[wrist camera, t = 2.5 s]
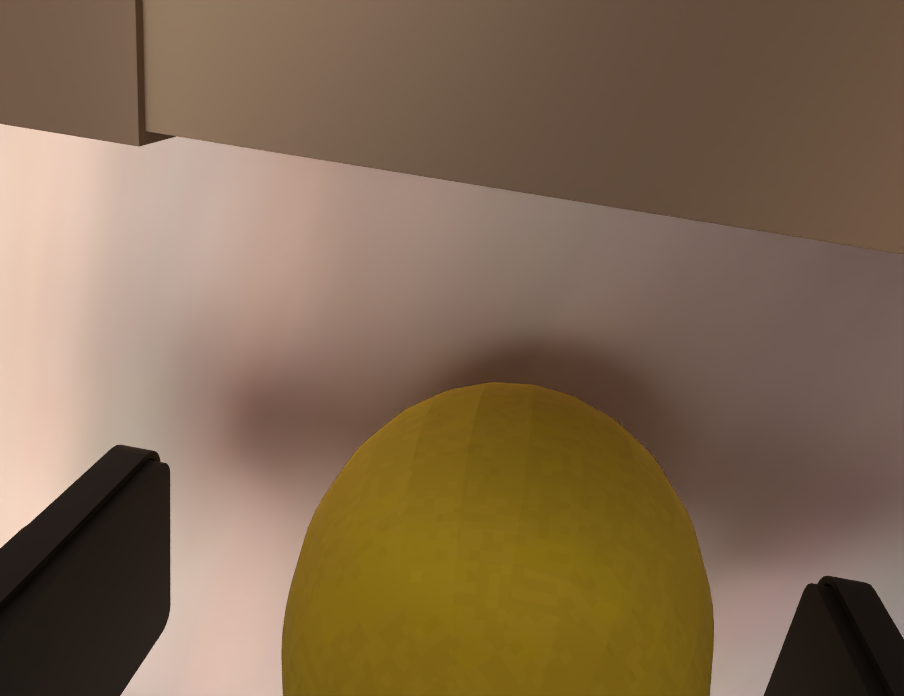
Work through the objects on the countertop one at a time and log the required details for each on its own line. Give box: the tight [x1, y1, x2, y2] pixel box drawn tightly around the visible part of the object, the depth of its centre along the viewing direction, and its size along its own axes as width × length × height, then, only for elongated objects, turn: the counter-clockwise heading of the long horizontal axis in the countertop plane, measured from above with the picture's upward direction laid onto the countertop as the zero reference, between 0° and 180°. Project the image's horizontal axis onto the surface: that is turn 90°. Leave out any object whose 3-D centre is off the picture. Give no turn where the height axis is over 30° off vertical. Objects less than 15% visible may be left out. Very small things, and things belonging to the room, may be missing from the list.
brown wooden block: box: [0, 0, 904, 254], centre depth 8 cm, size 12×2×6 cm, turn 82°
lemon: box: [282, 382, 714, 696], centre depth 11 cm, size 6×6×8 cm
